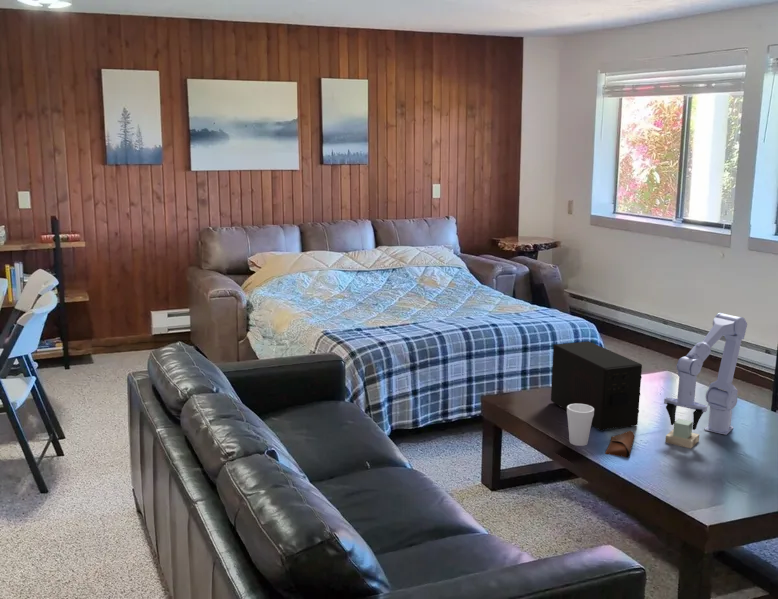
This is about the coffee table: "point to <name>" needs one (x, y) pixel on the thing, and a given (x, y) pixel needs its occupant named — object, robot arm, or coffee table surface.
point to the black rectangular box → (597, 383)
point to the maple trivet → (682, 440)
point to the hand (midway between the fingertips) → (683, 426)
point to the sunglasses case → (621, 444)
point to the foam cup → (579, 423)
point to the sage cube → (682, 428)
